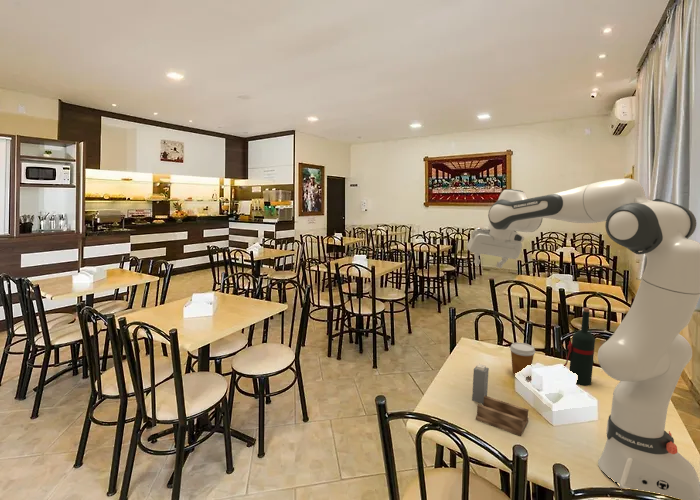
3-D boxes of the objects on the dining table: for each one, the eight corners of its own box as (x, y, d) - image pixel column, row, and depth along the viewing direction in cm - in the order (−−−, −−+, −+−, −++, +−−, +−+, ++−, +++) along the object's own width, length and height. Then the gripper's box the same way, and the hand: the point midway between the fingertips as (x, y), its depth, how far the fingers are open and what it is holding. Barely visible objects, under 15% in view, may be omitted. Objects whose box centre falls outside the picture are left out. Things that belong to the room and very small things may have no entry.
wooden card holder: (528, 420, 122) (529, 408, 121) (520, 436, 114) (521, 422, 113) (485, 406, 130) (485, 394, 130) (475, 419, 122) (476, 407, 122)
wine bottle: (560, 373, 154) (566, 304, 150) (588, 378, 150) (595, 306, 146) (563, 382, 147) (569, 309, 142) (593, 387, 143) (601, 312, 139)
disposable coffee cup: (537, 379, 149) (540, 351, 147) (513, 379, 149) (515, 351, 147) (527, 369, 158) (529, 342, 157) (504, 368, 158) (506, 342, 157)
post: (486, 399, 135) (488, 365, 133) (483, 404, 132) (485, 369, 130) (475, 395, 137) (477, 362, 135) (472, 400, 134) (473, 366, 132)
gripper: (478, 229, 133) (466, 264, 137) (528, 238, 137) (515, 272, 141) (470, 224, 139) (459, 258, 143) (519, 233, 143) (506, 265, 147)
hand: (487, 265), depth 142 cm, fingers open, 8 cm apart
